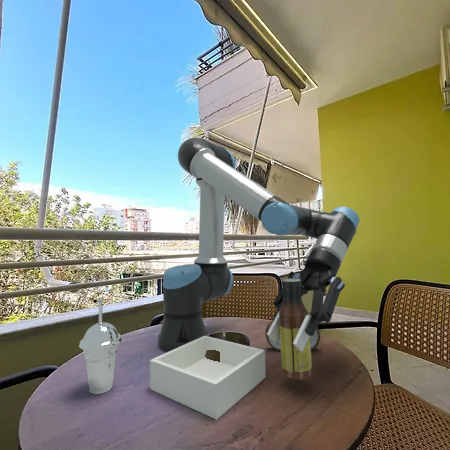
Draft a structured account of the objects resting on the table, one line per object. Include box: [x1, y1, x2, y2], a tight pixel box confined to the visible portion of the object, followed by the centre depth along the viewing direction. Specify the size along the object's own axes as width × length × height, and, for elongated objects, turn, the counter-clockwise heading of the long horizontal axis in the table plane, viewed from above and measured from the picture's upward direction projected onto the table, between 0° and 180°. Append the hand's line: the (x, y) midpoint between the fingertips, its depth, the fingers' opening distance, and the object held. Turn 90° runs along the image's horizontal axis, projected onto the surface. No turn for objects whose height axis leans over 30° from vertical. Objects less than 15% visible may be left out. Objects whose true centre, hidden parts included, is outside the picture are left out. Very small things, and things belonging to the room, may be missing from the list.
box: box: [149, 335, 267, 421], centre depth 61 cm, size 18×18×6 cm
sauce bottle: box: [279, 278, 313, 381], centre depth 59 cm, size 7×6×20 cm
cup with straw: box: [78, 298, 123, 395], centre depth 60 cm, size 8×9×20 cm
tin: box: [264, 320, 321, 352], centre depth 78 cm, size 15×3×8 cm, turn 84°
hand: (283, 342), depth 57 cm, fingers closed on sauce bottle, 6 cm apart
